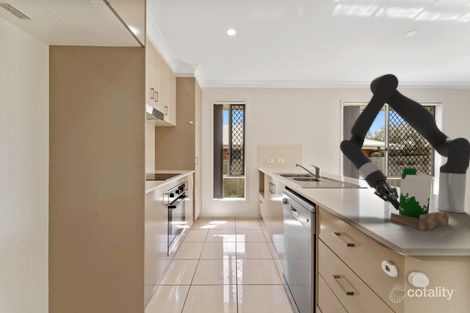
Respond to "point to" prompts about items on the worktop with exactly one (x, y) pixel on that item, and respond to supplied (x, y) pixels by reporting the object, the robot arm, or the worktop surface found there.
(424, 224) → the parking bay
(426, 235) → the worktop surface
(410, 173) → the soya milk
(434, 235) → the worktop surface
